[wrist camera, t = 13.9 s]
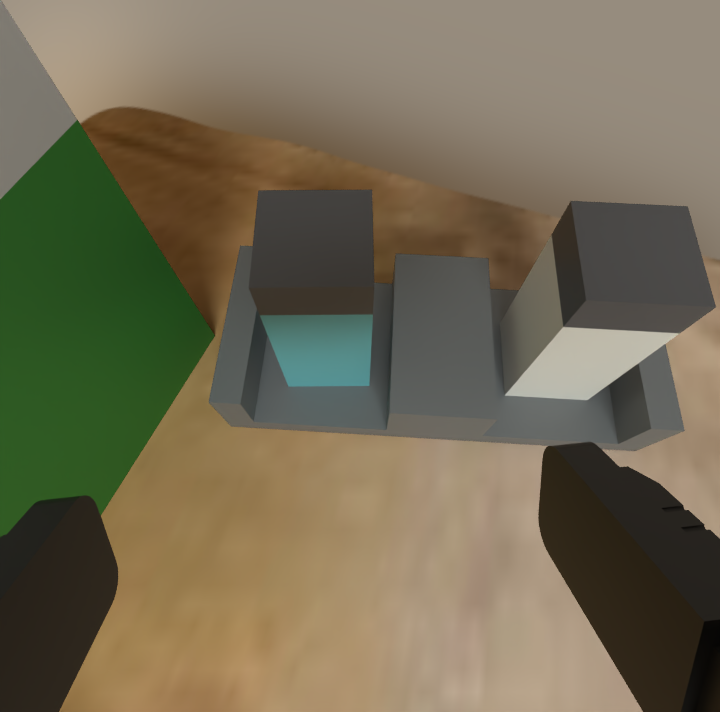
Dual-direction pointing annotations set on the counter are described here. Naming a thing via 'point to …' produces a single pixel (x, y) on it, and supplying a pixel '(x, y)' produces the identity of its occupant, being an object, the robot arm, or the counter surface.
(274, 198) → the grey-topped teal block
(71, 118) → the hardback book
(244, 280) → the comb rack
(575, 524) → the robot arm
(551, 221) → the counter surface
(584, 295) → the ivory plug
